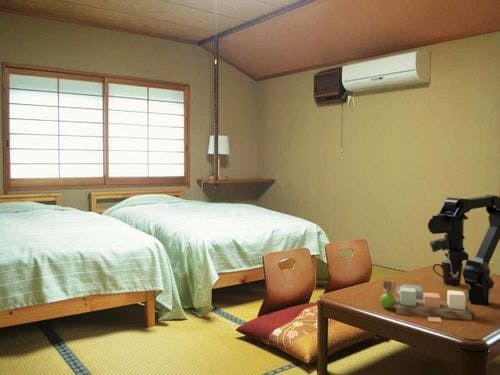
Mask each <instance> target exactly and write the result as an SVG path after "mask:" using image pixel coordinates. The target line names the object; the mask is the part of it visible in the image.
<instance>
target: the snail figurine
mask: <svg viewBox="0 0 500 375" xmlns="http://www.w3.org/2000/svg"><path fill="white" fill-rule="evenodd" d="M396 280H397V277H393V278H392V281H391V280H390V279H384V280H383V283H382V285H383V288H382V290H383V292H384V293H383V294H382V295H381V296H380V299H379V303H380V305H381V306H382V307H383V308H384V309H392V308H394V307H395V303H396V299H395V298H396V297H395V296H394V295H393V293H394V291H395V288H396V284H397V283H396Z"/></svg>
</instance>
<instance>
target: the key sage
mask: <svg viewBox="0 0 500 375" xmlns="http://www.w3.org/2000/svg"><path fill="white" fill-rule="evenodd" d="M400 303H401V305H410V306H416V291H415V288H404V287H400Z"/></svg>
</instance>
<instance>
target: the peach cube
mask: <svg viewBox="0 0 500 375" xmlns="http://www.w3.org/2000/svg"><path fill="white" fill-rule="evenodd" d="M440 301H441V296H440V294H439V292H438V293H435V292H425V291H424V292H423V306H424V307H433V308H440Z"/></svg>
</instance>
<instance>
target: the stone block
mask: <svg viewBox="0 0 500 375" xmlns="http://www.w3.org/2000/svg"><path fill="white" fill-rule="evenodd" d="M400 287H404V288H415V291H416V299H417V300H423V292H425V290H424V289H423V288H422V285H416V284H414V285H413V284H401V285H398V286H397V287H396V294H397V296H398V297H397V298H399V297H400Z"/></svg>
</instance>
